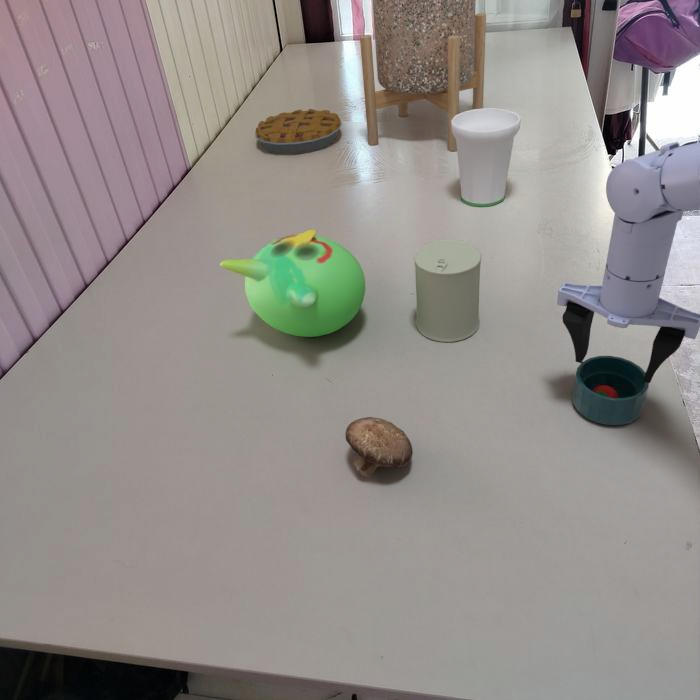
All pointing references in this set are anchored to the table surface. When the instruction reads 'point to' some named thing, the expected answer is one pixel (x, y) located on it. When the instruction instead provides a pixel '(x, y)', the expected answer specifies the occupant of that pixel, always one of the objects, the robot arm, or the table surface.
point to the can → (447, 290)
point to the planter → (423, 57)
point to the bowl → (620, 378)
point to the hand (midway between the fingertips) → (614, 367)
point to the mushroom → (377, 445)
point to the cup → (484, 153)
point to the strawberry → (605, 391)
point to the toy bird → (302, 284)
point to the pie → (298, 131)
